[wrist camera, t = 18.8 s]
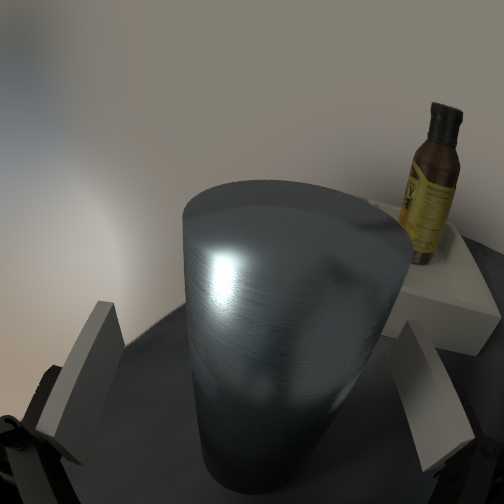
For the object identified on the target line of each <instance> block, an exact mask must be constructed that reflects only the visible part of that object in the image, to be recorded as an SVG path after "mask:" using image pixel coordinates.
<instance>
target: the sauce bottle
mask: <svg viewBox="0 0 504 504" xmlns="http://www.w3.org/2000/svg"><path fill="white" fill-rule="evenodd" d="M462 121H463V112H462V111H461V110H459V109H457V108H454V107H450V106H447V105H444V104H439V103H436V102H433V103H432V106H431V121H430V127H429V132H428V139H427V140H426V141H425V142H424V143H423V144H422V145H421V147H419V148H418V150H417V151H416V153H415V156H414V158H413V161H412V166H411V170H410V175H409V179H408V183H407V187H406V191H405V195H404V199H403V203H402V207H401V210H400V214H399V217H398V221H397V222H398V223H399V224H400V225H401V226H402V227H403V228H404V229H405V230H406V232H407V233H408V235H409V236H410V238H411V240H412V243H413V247H414V255H413V259H412V262H411V263H412V264H418V265H426V264H427V263H429V262H430V261H431V259H432V257H433V255H434V251H435V250H436V248H437V246H438V243H439V241H440V238H441V235H442V232H443V229H444V226H445V223H446V220H447V217H448V214H449V210H450V207H451V204H452V201H453V197H454V194H455V190H456V183H457V180H458V176H459V172H460V163H459V159H458V155H457V152H456V145H457V138H458V133H459V127H460V125H461V123H462Z"/></svg>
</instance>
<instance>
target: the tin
mask: <svg viewBox="0 0 504 504" xmlns="http://www.w3.org/2000/svg"><path fill="white" fill-rule="evenodd" d="M183 252H184V276H185V294H186V310H187V324H188V337H189V348H190V359H191V369H192V379H193V388H194V397H195V405H196V413H197V420H198V428H199V435H200V442H201V448H202V455H203V460H204V463H205V466H206V468H207V470H208V472H209V473H210V475H211V476H212V477H213V478H214V479H215V480H216V481H217V482H218V483H219V484H221V485H222V486H224V487H226V488H227V489H229V490H232V491H234V492H238V493H242V494H248V495H258V494H265V493H269V492H272V491H275V490H277V489H279V488H281V487H283V486H284V485H286V484H287V483H288V482H289V481H290V480H291V479H292V478H293V477H294V476H295V474H296V473H297V472H298V470H299V469H300V468H301V466H302V465H303V464H304V462H305V461H306V459H307V458H308V457H309V455H310V454H311V452H312V451H313V450H314V448H315V447H316V445H317V444H318V442H319V441H320V439H321V438H322V436H323V435H324V433H325V432H326V430H327V429H328V427H329V426H330V424H331V423H332V421H333V420H334V418H335V416H336V415H337V413H338V412H339V410H340V408H341V407H342V405H343V403H344V402H345V400H346V398H347V397H348V395H349V393H350V391H351V390H352V388H353V386H354V384H355V383H356V381H357V379H358V377H359V376H360V374H361V372H362V370H363V368H364V366H365V364H366V362H367V361H368V359H369V357H370V355H371V353H372V351H373V349H374V347H375V345H376V343H377V341H378V339H379V337H380V335H381V333H382V331H383V328H384V326H385V324H386V322H387V320H388V318H389V315H390V313H391V311H392V309H393V306H394V304H395V302H396V300H397V297H398V295H399V292H400V290H401V288H402V285H403V283H404V280H405V278H406V275H407V273H408V270H409V267H410V265H411V262H412V259H413V255H414V247H413V243H412V240H411V238H410V236H409V235H408V233H407V232H406V230H405V229H404V228H403V227H402V226H401V225H400V224H399V223H398V222H397V221H396V220H395V219H394V218H392V217H391V216H390V215H388V214H387V213H385V212H384V211H382V210H381V209H379V208H377V207H376V206H374V205H372V204H370V203H368V202H366V201H364V200H361V199H359V198H357V197H354V196H352V195H349V194H346V193H343V192H340V191H337V190H333V189H330V188H326V187H322V186H317V185H312V184H307V183H300V182H292V181H282V180H249V181H239V182H232V183H227V184H223V185H219V186H216V187H213V188H210V189H207V190H205V191H203V192H201V193H200V194H198V195H197V196H195V197H194V198H192V199H191V201H189V202H188V203H187V205H186V207H185V209H184V212H183Z"/></svg>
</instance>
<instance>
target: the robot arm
mask: <svg viewBox="0 0 504 504" xmlns="http://www.w3.org/2000/svg"><path fill="white" fill-rule="evenodd" d="M124 347H125V344H124V340H123V337H122V333H121V330H120V326H119V323H118V318H117V314H116V311H115V307H114V303H111V302H105V301H98V302H97V304H96V306H95V307H94V309H93V311H92V313H91V314H90V316H89V318H88V320H87V322H86V324H85V325H84V327H83V329H82V331H81V333H80V335H79V336H78V338H77V341H76V342H75V344H74V346H73V348H72V350H71V352H70V354H69V356H68V358H67V360H66V362H65V364H64V366H63V367H59V366H56V365H53V366H51V367H50V368H49V369H48V370H47V371H46V372H45V373H44V375H43V377H42V379H41V381H40V383H39V386H38V387H37V389H36V393H35V394H34V395H33V398H32V400H31V402H30V404H29V406H28V409H27V411H26V413H25V416H24V418H23V420H22V422H21V423H20V422H19V421H18V420H17V419H16V418H15V417H13V416H10V415H5V416H2V417H0V504H81V503H80V501H79V499H78V497H77V495H76V493H75V491H74V489H73V487H72V485H71V483H70V481H69V479H68V477H67V474H66V472H65V470H64V468H63V465H62V464H61V462H60V460H61V456H63V457H64V458H65V459H66V460H67V461H70V462H73V463H76V464H78V465H81V466H84V467H85V463H86V459H87V456H88V453H89V449H90V446H91V442H92V439H93V436H94V433H95V429H96V426H97V423H98V420H99V417H100V414H101V411H102V408H103V405H104V402H105V399H106V396H107V393H108V390H109V387H110V385H111V382H112V379H113V376H114V374H115V371H116V368H117V365H118V363H119V360H120V357H121V355H122V352H123V350H124ZM386 359H387V362H388V364H389V367H390V370H391V373H392V375H393V378H394V381H395V384H396V387H397V389H398V392H399V395H400V398H401V401H402V404H403V407H404V410H405V413H406V416H407V419H408V422H409V426H410V429H411V432H412V435H413V439H414V442H415V445H416V449H417V452H418V456H419V459H420V463H421V467H422V470H423V472H424V471H427V470H430V469H434V468H437V467H438V466H440V465H441V464H442V463H444V462H445V464H446V466H445V467H444V468H442V469H441V470H439V471H438V472H437V473H435V475H434V476H433V478H435V477H437V476H438V475H440V474H441V475H440V477H439V478H438V482H437V485H436V487H435V489H434V491H433V494H432V496H431V498H430V500H429V502H428V504H504V443H496V442H495V441H494V440H493V439H492V438H490V437H485V436H484V434H483V432H482V430H481V427H480V425H479V422H478V420H477V418H476V415H475V413H474V411H473V408H471V404H470V401H468V397H467V395H466V393H465V391H464V389H463V388H462V387H461V385H460V384H459V383H458V382H457V381H454V382H451V380H450V378H449V376H448V373H447V371H446V369H445V367H444V365H443V363H442V361H441V359H440V357H439V355H438V353H437V351H436V349H435V347H434V345H433V343H432V342H431V340H430V338H429V336H428V334H427V332H426V330H425V328H424V327H423V325H422V323H421V321H420V320H407V321H406V323H405V325H404V327H403V329H402V331H401V333H400V334H399V336H398V338H397V340H396V342H395V344H394V346H393V348H392V349H391V351H390V353H389V355H388V357H387V358H386ZM500 476H502V481H501V482H499V477H500Z"/></svg>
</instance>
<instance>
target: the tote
mask: <svg viewBox="0 0 504 504" xmlns="http://www.w3.org/2000/svg"><path fill="white" fill-rule="evenodd" d="M368 203H370V204H372V205H374V206H376V207H377V208H379V209H381V210H382V211H384V212H385V213H387V214H388V215H390V216H391V217H392V218H394V219H395V220H396V221H398V217H399V214H400V210H401V208H399V207H395V206H392V205H388V204H384V203H380V202H377V201H373V200H368ZM500 319H501V315H500V313H499V311H498V308H497V306H496V304H495V301H494V299H493V297H492V295H491V293H490V290H489V288H488V286H487V284H486V282H485V280H484V278H483V276H482V274H481V272H480V270H479V268H478V266H477V264H476V262H475V260H474V258H473V257H472V255H471V253H470V251H469V249H468V247H467V246H466V244H465V242H464V240H463V239H462V237H461V235H460V234H459V232H458V230H457V229H456V227H455V225H454V224H452V223H449V222H446V223H445V226H444V229H443V232H442V235H441V238H440V241H439V243H438V246H437V248H436V250H435V251H434V255H433V257H432V259H431V261H430V262H429V263H427V264H426V265H418V264H412V263H411V265H410V267H409V270H408V273H407V275H406V278H405V280H404V283H403V285H402V288H401V290H400V292H399V295H398V297H397V300H396V302H395V304H394V306H393V309H392V311H391V313H390V315H389V318H388V320H387V322H386V324H385V326H384V328H383V331H382V333H381V335H383V336H387V337H391V338H395V339H397V338H398V336H399V334H400V333H401V331H402V329H403V327H404V325H405V323H406V321H407V320H420V321H421V323H422V325H423V327H424V328H425V330H426V332H427V334H428V336H429V338H430V340H431V342H432V343H433V345H434V347H435V348H439V349H443V350H448V351H453V352H457V353H462V354H467V355H472V356H477V354H478V353H479V352H480V350H481V349H482V347H483V346H484V344H485V343H486V341H487V340H488V338H489V337H490V335H491V334H492V332H493V330H494V329H495V327H496V326H497V324H498V322H499V321H500Z"/></svg>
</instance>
